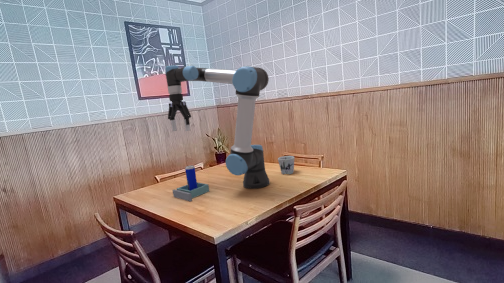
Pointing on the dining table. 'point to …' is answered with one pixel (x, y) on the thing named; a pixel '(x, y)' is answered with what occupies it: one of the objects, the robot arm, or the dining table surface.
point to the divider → (182, 195)
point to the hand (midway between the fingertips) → (181, 130)
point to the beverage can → (191, 177)
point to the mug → (286, 164)
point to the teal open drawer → (198, 191)
